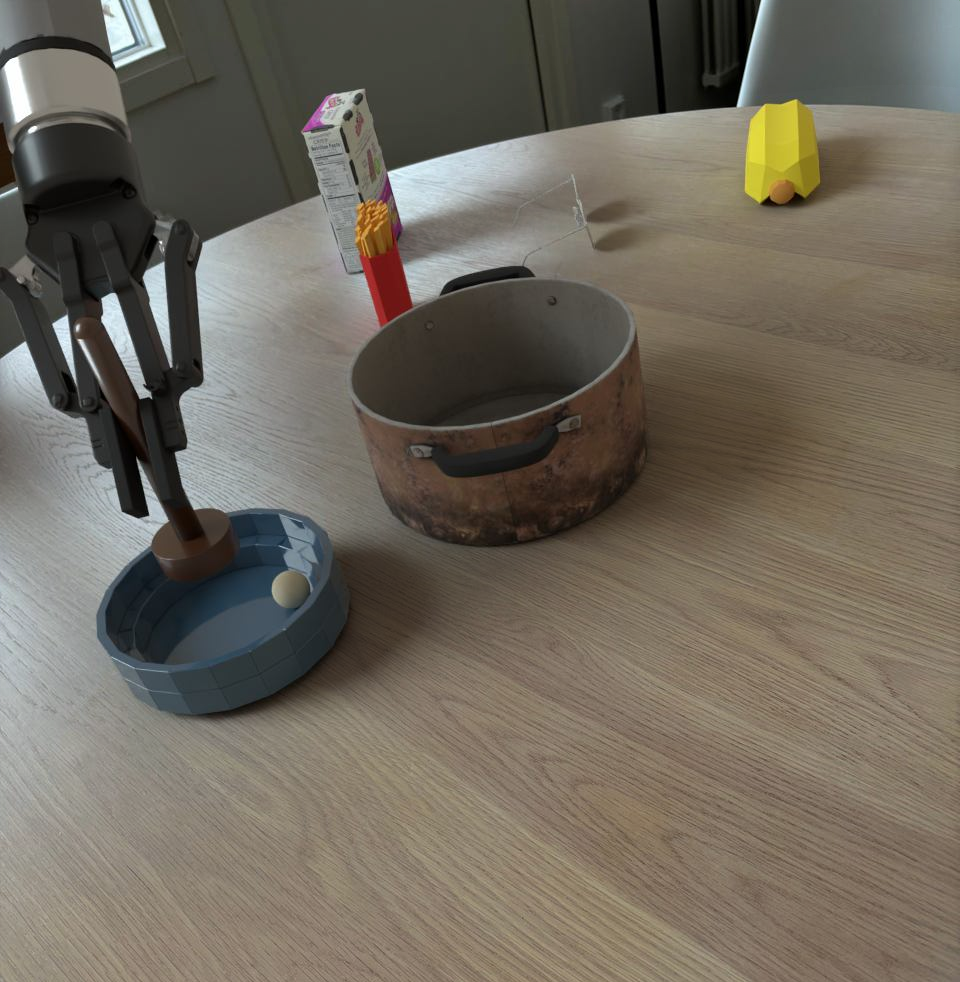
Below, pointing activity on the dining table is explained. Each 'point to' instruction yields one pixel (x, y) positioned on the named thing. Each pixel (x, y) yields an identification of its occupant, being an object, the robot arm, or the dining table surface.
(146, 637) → the bowl
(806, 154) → the yellow faceted bell
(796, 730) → the dining table surface
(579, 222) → the eyeglasses frame
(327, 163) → the candy bar box
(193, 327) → the robot arm
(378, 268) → the french fries
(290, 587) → the beige ball
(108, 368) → the brown plunger
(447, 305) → the cooking pot
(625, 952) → the dining table surface
